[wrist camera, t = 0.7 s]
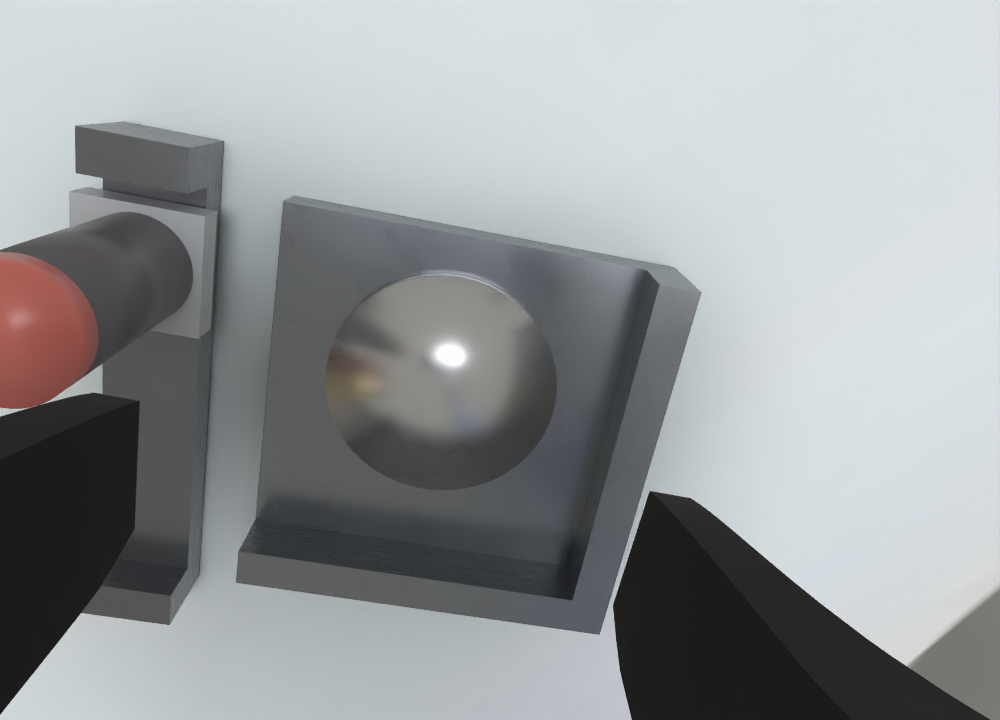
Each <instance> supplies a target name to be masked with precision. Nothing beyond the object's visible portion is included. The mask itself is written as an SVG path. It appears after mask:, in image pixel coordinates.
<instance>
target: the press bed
mask: <svg viewBox="0 0 1000 720" xmlns="http://www.w3.org/2000/svg"><path fill="white" fill-rule="evenodd" d="M700 296H701V291H699V290H698V289H697V288H696V287H695V286H694V285H693V284H692V283H691V282H690V281H689V280H688V279H686V278H685V277H684V276H683V275H682V274H681V273H680V272H679V271H678V270H677V269H676V268H674V267H669V266H663V265H658V264H653V263H647V262H642V261H637V260H631V259H626V258H621V257H616V256H610V255H605V254H600V253H594V252H589V251H584V250H578V249H573V248H568V247H563V246H557V245H552V244H547V243H541V242H536V241H531V240H525V239H520V238H515V237H510V236H504V235H499V234H494V233H488V232H483V231H478V230H472V229H467V228H462V227H457V226H451V225H446V224H441V223H435V222H430V221H425V220H419V219H414V218H409V217H404V216H398V215H393V214H388V213H382V212H377V211H372V210H366V209H361V208H356V207H351V206H345V205H340V204H335V203H329V202H324V201H319V200H313V199H308V198H303V197H298V196H293V197H291V198H289V199H287V200H285V201H283V212H282V223H281V235H280V246H279V258H278V269H277V281H276V292H275V304H274V315H273V327H272V338H271V350H270V361H269V372H268V384H267V395H266V407H265V418H264V430H263V441H262V453H261V464H260V476H259V487H258V499H257V510H256V520H255V522H254V524H253V526H252V527H251V529H250V531H249V533H248V535H247V537H246V538H245V540H244V542H243V544H242V546H241V548H240V550H239V552H238V565H237V577H236V583H243V584H250V585H257V586H264V587H271V588H278V589H285V590H292V591H299V592H306V593H313V594H320V595H327V596H333V597H340V598H347V599H354V600H361V601H368V602H375V603H382V604H389V605H396V606H403V607H410V608H417V609H424V610H431V611H438V612H445V613H452V614H459V615H466V616H473V617H480V618H487V619H494V620H501V621H508V622H515V623H522V624H529V625H536V626H543V627H550V628H557V629H564V630H571V631H578V632H585V633H592V634H599V635H600V631H601V628H602V624H603V621H604V618H605V614H606V611H607V608H608V604H609V601H610V598H611V594H612V591H613V588H614V584H615V581H616V577H617V574H618V571H619V567H620V564H621V561H622V557H623V554H624V551H625V547H626V544H627V541H628V537H629V534H630V530H631V527H632V524H633V520H634V517H635V514H636V510H637V507H638V504H639V500H640V497H641V494H642V490H643V487H644V483H645V480H646V477H647V473H648V470H649V467H650V463H651V460H652V457H653V453H654V450H655V447H656V443H657V440H658V436H659V433H660V430H661V426H662V423H663V420H664V416H665V413H666V410H667V406H668V403H669V400H670V396H671V393H672V390H673V386H674V383H675V379H676V376H677V373H678V369H679V366H680V363H681V359H682V356H683V353H684V349H685V346H686V343H687V339H688V336H689V332H690V329H691V326H692V322H693V319H694V316H695V312H696V309H697V306H698V302H699V299H700Z"/></svg>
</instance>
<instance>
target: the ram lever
mask: <svg viewBox="0 0 1000 720" xmlns="http://www.w3.org/2000/svg"><path fill="white" fill-rule="evenodd" d="M69 202H70V227H69V228H66V229H63V230H60V231H57V232H54V233H51V234H48V235H45V236H42V237H39V238H36V239H32V240H29V241H26V242H23V243H20V244H17V245H14V246H11V247H8V248H5V249H2V250H0V407H1V408H10V409H21V408H29V407H33V406H37V405H40V404H43V403H45V402H47V401H49V400H51V399H52V398H54V397H56V396H57V395H58V394H60V393H61V392H63V391H64V390H66V389H67V388H68V387H70V386H71V385H73V384H74V383H75V382H77V381H78V380H80V379H81V378H82V377H84V376H85V375H87V374H88V373H90V372H91V371H92V370H94V369H95V368H97V367H98V366H99V365H101V364H102V363H104V362H105V361H107V360H108V359H109V358H111V357H112V356H114V355H115V354H116V353H118V352H119V351H121V350H122V349H124V348H125V347H126V346H128V345H129V344H131V343H132V342H133V341H135V340H136V339H138V338H139V337H141V336H142V335H143V334H145V333H146V332H148V331H149V330H150V331H156V332H162V333H167V334H173V335H179V336H185V337H191V338H197V339H199V338H200V337H201V336H203V335H204V334H205V333H206V332H207V331H208V330H210V329H211V313H212V295H213V277H214V259H215V241H216V223H217V211H214V210H209V209H204V208H198V207H193V206H188V205H182V204H177V203H171V202H166V201H161V200H155V199H150V198H144V197H139V196H134V195H128V194H123V193H117V192H112V191H107V190H101V189H96V188H90V187H86V188H82V189H77V190H73V191H69Z"/></svg>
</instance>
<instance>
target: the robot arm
mask: <svg viewBox="0 0 1000 720" xmlns="http://www.w3.org/2000/svg"><path fill="white" fill-rule="evenodd" d="M139 410H140V401H137V400H132V399H126V398H121V397H115V396H109V395H104V394H98V393H90V394H84V395H78V396H74V397H69V398H65V399H61V400H57V401H54V402H50V403H46V404H43V405H39V406H35V407H32V408H28V409H25V410H22V411H18V412H15V413H11V414H8V415H5V416H1V417H0V714H1V713H2V712H3V710H4V709H5V708H6V707H7V705H8V704H9V703H10V702H11V700H12V699H13V698H14V697H15V695H16V694H17V693H18V692H19V690H20V689H21V688H22V687H23V685H24V684H25V683H26V682H27V680H28V679H29V678H30V677H31V675H32V674H33V673H34V672H35V670H36V669H37V668H38V667H39V665H40V664H41V663H42V662H43V660H44V659H45V658H46V657H47V655H48V654H49V653H50V652H51V650H52V649H53V648H54V646H55V645H56V644H57V643H58V641H59V640H60V639H61V638H62V636H63V635H64V634H65V633H66V631H67V630H68V629H69V627H70V626H71V625H72V624H73V622H74V621H75V620H76V619H77V617H78V616H79V615H80V613H81V612H82V611H83V610H84V608H85V607H86V606H87V604H88V603H89V602H90V601H91V599H92V598H93V597H94V595H95V594H96V593H97V591H98V590H99V588H100V587H101V585H102V584H103V582H104V580H105V579H106V577H107V575H108V574H109V572H110V570H111V569H112V567H113V566H114V564H115V562H116V561H117V559H118V557H119V555H120V553H121V552H122V550H123V548H124V546H125V545H126V543H127V541H128V539H129V538H130V536H131V534H132V532H133V531H134V529H135V510H136V485H137V460H138V435H139ZM613 610H614V621H615V631H616V642H617V650H618V658H619V666H620V672H621V676H622V681H623V685H624V689H625V693H626V697H627V701H628V705H629V710H630V714H631V718H632V720H990V719H988V718H986V717H985V716H983V715H981V714H980V713H978V712H976V711H975V710H973V709H972V708H970V707H968V706H967V705H965V704H964V703H962V702H960V701H959V700H957V699H955V698H954V697H952V696H950V695H949V694H947V693H946V692H944V691H943V690H941V689H940V688H938V687H937V686H935V685H934V684H932V683H931V682H929V681H928V680H926V679H924V678H923V677H922V676H920V675H919V674H917V673H916V672H914V671H913V670H911V669H910V668H908V667H907V666H905V665H904V664H902V663H901V662H899V661H898V660H896V659H895V658H893V657H892V656H890V655H889V654H887V653H886V652H885V651H883V650H882V649H880V648H879V647H878V646H876V645H875V644H873V643H872V642H870V641H869V640H868V639H866V638H865V637H864V636H862V635H861V634H860V633H858V632H857V631H856V630H854V629H853V628H852V627H850V626H849V625H848V624H847V623H845V622H844V621H843V620H841V619H840V618H839V617H837V616H836V615H835V614H833V613H832V612H831V611H829V610H828V609H827V608H826V607H824V606H823V605H822V604H820V603H819V602H818V601H817V600H815V599H814V598H813V597H812V596H810V595H809V594H808V593H807V592H805V591H804V590H803V589H802V588H800V587H799V586H798V585H797V584H796V583H794V582H793V581H792V580H791V579H789V578H788V577H787V576H786V575H785V574H783V573H782V572H781V571H780V570H779V569H777V568H776V567H775V566H774V565H773V564H772V563H770V562H769V561H768V560H767V559H766V558H764V557H763V556H762V555H761V554H760V553H759V552H757V551H756V550H755V549H754V548H753V547H751V546H750V545H749V544H748V543H747V542H746V541H744V540H743V539H742V538H741V537H740V536H738V535H737V534H736V533H735V532H734V531H733V530H731V529H730V528H729V527H728V526H727V525H725V524H724V523H723V522H722V521H721V520H719V519H718V518H717V517H716V516H714V515H713V514H712V513H711V512H709V511H708V510H707V509H705V508H704V507H703V506H701V505H700V504H698V503H697V502H695V501H694V500H692V499H691V498H686V497H680V496H675V495H669V494H663V493H658V492H652V491H650V492H649V495H648V498H647V501H646V505H645V508H644V511H643V514H642V517H641V520H640V523H639V526H638V529H637V533H636V536H635V539H634V542H633V545H632V548H631V551H630V554H629V558H628V561H627V564H626V567H625V570H624V573H623V576H622V579H621V582H620V586H619V589H618V592H617V595H616V598H615V601H614V604H613Z"/></svg>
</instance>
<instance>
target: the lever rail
mask: <svg viewBox="0 0 1000 720" xmlns="http://www.w3.org/2000/svg"><path fill="white" fill-rule="evenodd" d="M223 148H224V141H220V140H215V139H210V138H205V137H200V136H194V135H189V134H184V133H179V132H174V131H168V130H163V129H158V128H153V127H148V126H143V125H137V124H132V123H127V122H116V123H103V124H91V125H78V126H75V153H76V173H79V174H84V175H90V176H95V177H100V178H103V190H107V191H112V192H117V193H123V194H128V195H134V196H139V197H144V198H150V199H155V200H161V201H166V202H171V203H177V204H182V205H188V206H193V207H198V208H204V209H209V210H214V211H217V223H216V241H215V259H214V277H213V295H212V313H211V329H210V330H208V331H207V332H206V333H205V334H204V335H203V336H201V337H200V338H199V339H197V338H191V337H185V336H179V335H173V334H167V333H162V332H156V331H150V330H149V331H148V332H146V333H145V334H143V335H142V336H141V337H139V338H138V339H136V340H135V341H133V342H132V343H131V344H129V345H128V346H126V347H125V348H124V349H122V350H121V351H119V352H118V353H116V354H115V355H114V356H112V357H111V358H109V359H108V360H107V361H105V362H104V363H103V394H104V395H109V396H115V397H121V398H126V399H132V400H137V401H140V410H139V435H138V460H137V485H136V510H135V529H134V531H133V532H132V534H131V536H130V538H129V539H128V541H127V543H126V545H125V546H124V548H123V550H122V552H121V553H120V555H119V557H118V559H117V561H116V562H115V564H114V566H113V567H112V569H111V570H110V572H109V574H108V575H107V577H106V579H105V580H104V582H103V584H102V585H101V587H100V588H99V590H98V591H97V593H96V594H95V595H94V597H93V598H92V599H91V601H90V602H89V603H88V604H87V606H86V607H85V608H84V610H83V611H82V612H81V613H86V614H94V615H101V616H108V617H115V618H123V619H130V620H137V621H144V622H152V623H159V624H166V625H170V623H171V622H172V620H173V618H174V617H175V615H176V613H177V611H178V610H179V608H180V606H181V605H182V603H183V601H184V600H185V598H186V596H187V595H188V593H189V591H190V590H191V588H192V586H193V585H194V583H195V581H196V579H197V578H198V576H199V567H200V550H201V532H202V515H203V497H204V480H205V463H206V445H207V428H208V410H209V393H210V375H211V358H212V340H213V323H214V305H215V288H216V270H217V253H218V235H219V218H220V200H221V183H222V165H223Z"/></svg>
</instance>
